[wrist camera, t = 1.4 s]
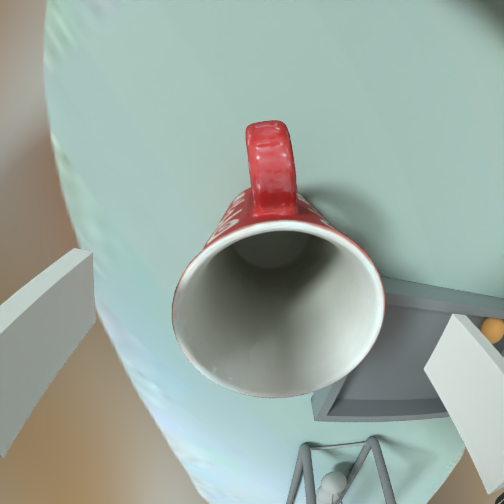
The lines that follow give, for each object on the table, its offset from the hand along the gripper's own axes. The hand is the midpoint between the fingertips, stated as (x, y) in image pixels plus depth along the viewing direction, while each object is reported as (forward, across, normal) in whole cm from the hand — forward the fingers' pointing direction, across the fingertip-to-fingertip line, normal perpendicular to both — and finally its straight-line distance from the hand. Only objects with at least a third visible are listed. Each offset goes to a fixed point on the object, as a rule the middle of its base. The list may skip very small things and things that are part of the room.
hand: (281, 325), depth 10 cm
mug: (+16, 0, 0) cm, 16 cm away
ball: (+15, +27, -7) cm, 32 cm away
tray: (+16, +20, -12) cm, 28 cm away
